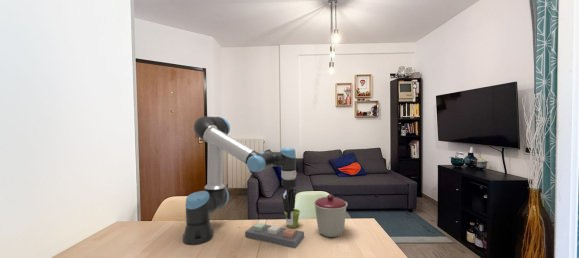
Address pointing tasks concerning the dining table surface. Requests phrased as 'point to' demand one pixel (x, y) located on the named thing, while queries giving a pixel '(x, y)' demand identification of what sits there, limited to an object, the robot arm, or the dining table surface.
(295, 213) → the plant pot
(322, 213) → the canister
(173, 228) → the dining table surface
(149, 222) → the dining table surface
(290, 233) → the terracotta key
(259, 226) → the sage key
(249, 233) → the keypad
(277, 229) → the cream key
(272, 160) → the robot arm
